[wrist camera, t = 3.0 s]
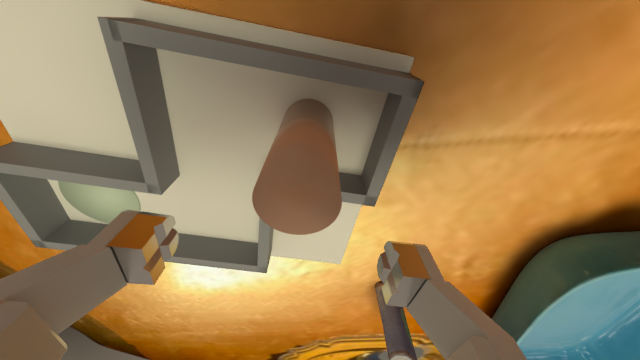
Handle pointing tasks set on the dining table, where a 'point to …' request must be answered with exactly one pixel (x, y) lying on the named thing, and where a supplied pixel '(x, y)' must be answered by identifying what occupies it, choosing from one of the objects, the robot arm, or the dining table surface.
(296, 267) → the dining table surface
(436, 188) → the dining table surface
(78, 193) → the pad
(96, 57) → the channel
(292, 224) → the peg
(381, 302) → the flask
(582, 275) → the casserole dish
